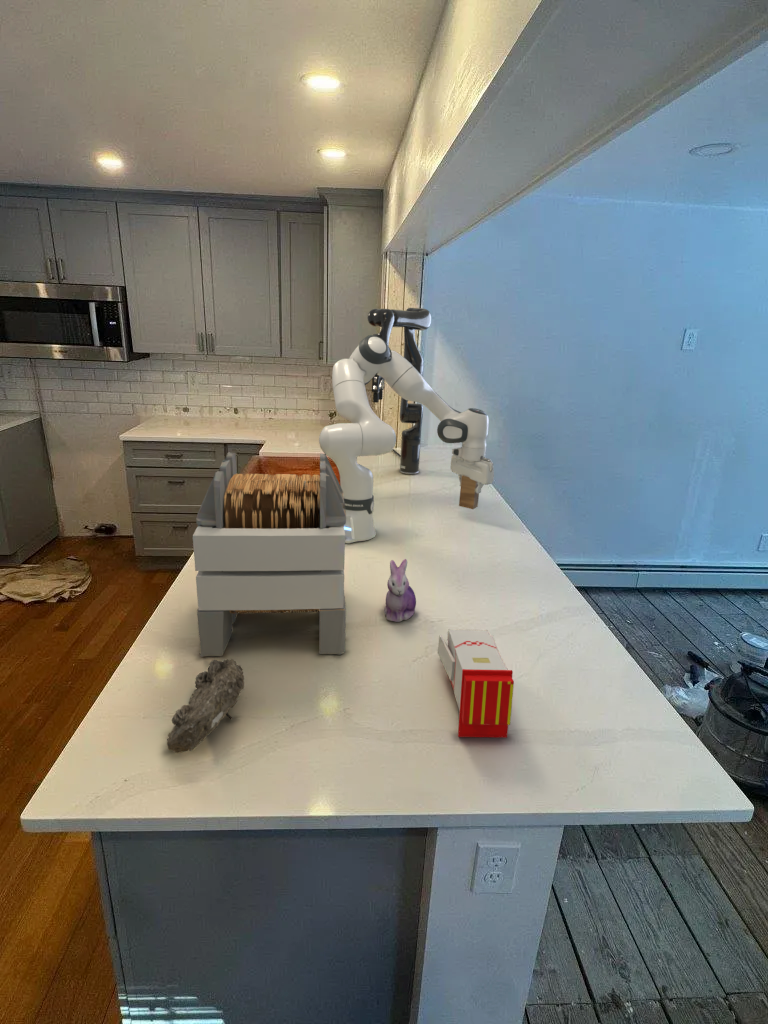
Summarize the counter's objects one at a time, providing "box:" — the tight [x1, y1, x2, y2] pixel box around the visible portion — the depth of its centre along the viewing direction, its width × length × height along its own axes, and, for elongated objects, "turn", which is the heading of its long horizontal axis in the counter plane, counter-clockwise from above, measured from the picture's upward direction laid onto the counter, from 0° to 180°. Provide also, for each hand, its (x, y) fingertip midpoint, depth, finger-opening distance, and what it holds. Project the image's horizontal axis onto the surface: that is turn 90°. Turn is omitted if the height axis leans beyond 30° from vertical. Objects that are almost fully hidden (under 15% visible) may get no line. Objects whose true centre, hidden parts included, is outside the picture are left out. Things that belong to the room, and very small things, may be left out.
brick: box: [458, 475, 480, 510], centre depth 212 cm, size 4×6×12 cm
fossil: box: [166, 658, 245, 754], centre depth 106 cm, size 22×10×15 cm
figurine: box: [384, 558, 417, 623], centre depth 145 cm, size 9×10×15 cm
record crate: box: [192, 452, 347, 658], centre depth 136 cm, size 34×33×41 cm
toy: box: [437, 628, 515, 738], centre depth 117 cm, size 12×13×30 cm
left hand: (469, 489), depth 212 cm, fingers closed on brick, 7 cm apart
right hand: (377, 400), depth 235 cm, fingers open, 8 cm apart
